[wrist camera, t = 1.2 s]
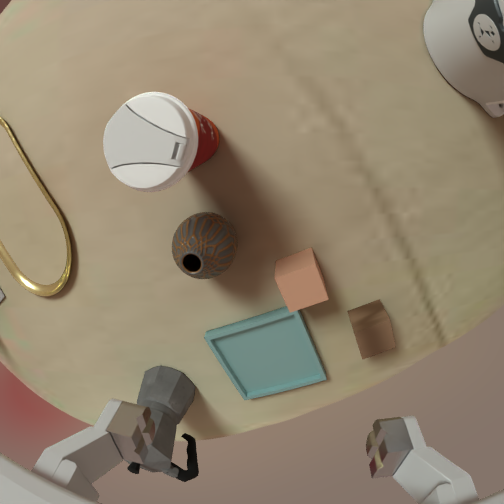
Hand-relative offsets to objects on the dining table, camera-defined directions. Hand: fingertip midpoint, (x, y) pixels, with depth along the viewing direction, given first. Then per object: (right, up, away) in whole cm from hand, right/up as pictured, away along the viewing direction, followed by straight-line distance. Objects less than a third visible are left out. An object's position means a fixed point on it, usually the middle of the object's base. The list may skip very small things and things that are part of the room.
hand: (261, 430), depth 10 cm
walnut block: (+15, -3, +29) cm, 33 cm away
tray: (+2, -8, +32) cm, 34 cm away
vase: (-5, +8, +27) cm, 29 cm away
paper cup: (-7, +19, +23) cm, 31 cm away
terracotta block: (+5, +4, +28) cm, 28 cm away
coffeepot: (-13, -16, +37) cm, 43 cm away
